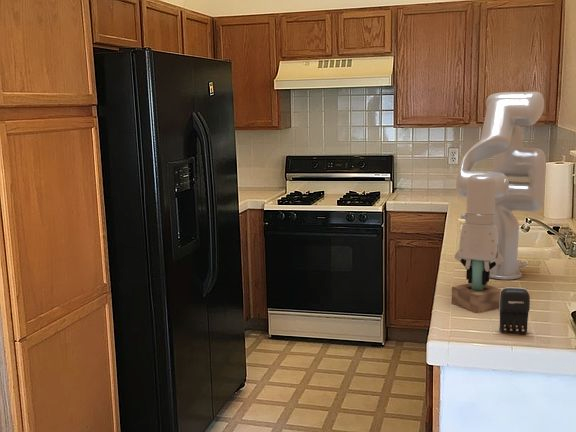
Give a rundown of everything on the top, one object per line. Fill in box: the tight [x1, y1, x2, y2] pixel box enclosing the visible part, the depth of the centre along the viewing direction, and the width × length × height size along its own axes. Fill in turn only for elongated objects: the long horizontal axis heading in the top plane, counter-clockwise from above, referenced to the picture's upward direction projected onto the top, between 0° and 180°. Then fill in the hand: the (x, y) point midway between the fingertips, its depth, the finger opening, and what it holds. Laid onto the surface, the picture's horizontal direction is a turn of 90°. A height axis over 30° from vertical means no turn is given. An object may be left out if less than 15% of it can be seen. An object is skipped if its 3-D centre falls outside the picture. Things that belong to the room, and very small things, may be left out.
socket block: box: [451, 283, 503, 314], centre depth 179 cm, size 10×10×5 cm
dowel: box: [471, 260, 485, 292], centre depth 178 cm, size 3×3×12 cm
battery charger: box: [498, 286, 531, 335], centre depth 157 cm, size 7×4×11 cm, turn 78°
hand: (477, 282), depth 179 cm, fingers closed on dowel, 3 cm apart
